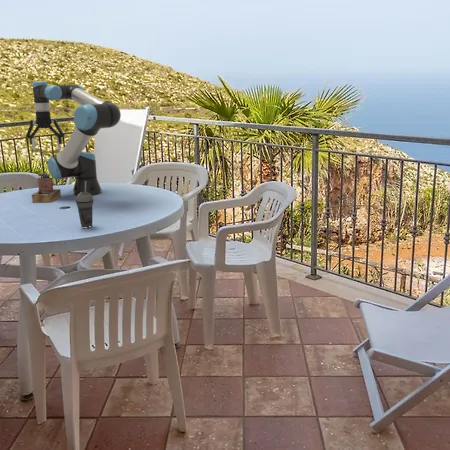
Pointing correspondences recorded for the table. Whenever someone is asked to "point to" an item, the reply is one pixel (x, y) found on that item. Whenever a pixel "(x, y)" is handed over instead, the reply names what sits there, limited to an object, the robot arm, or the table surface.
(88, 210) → the beverage cup
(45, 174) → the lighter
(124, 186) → the table surface
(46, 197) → the shallow wooden box
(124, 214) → the table surface
